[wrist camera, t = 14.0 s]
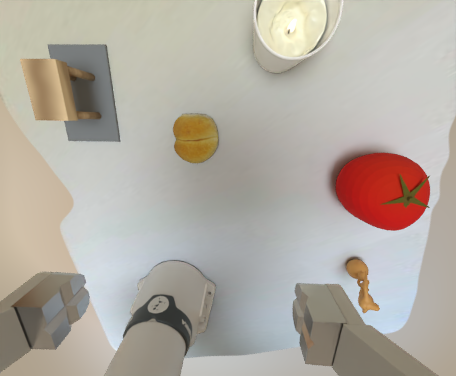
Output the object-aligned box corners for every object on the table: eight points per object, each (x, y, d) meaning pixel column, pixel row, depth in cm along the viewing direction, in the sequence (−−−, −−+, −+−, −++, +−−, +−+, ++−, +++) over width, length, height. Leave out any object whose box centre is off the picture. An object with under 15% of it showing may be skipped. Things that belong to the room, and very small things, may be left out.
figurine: (361, 277, 48) (399, 326, 36) (333, 279, 48) (363, 329, 37) (362, 246, 45) (403, 288, 34) (333, 249, 46) (365, 292, 35)
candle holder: (312, 68, 35) (348, 44, 24) (255, 85, 37) (263, 70, 25) (303, 0, 33) (338, -65, 21) (242, 20, 34) (244, -30, 22)
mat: (120, 141, 41) (119, 141, 40) (70, 140, 41) (68, 140, 41) (106, 45, 36) (104, 44, 35) (49, 45, 36) (47, 44, 36)
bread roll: (177, 161, 42) (171, 165, 38) (174, 113, 39) (167, 112, 35) (218, 162, 41) (216, 166, 38) (219, 114, 39) (217, 113, 35)
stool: (95, 72, 37) (55, 59, 29) (103, 120, 39) (68, 120, 31) (67, 72, 37) (20, 58, 29) (77, 120, 39) (35, 120, 31)
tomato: (339, 222, 44) (373, 256, 33) (318, 163, 40) (348, 180, 29) (401, 199, 42) (458, 227, 31) (384, 135, 38) (443, 141, 27)
